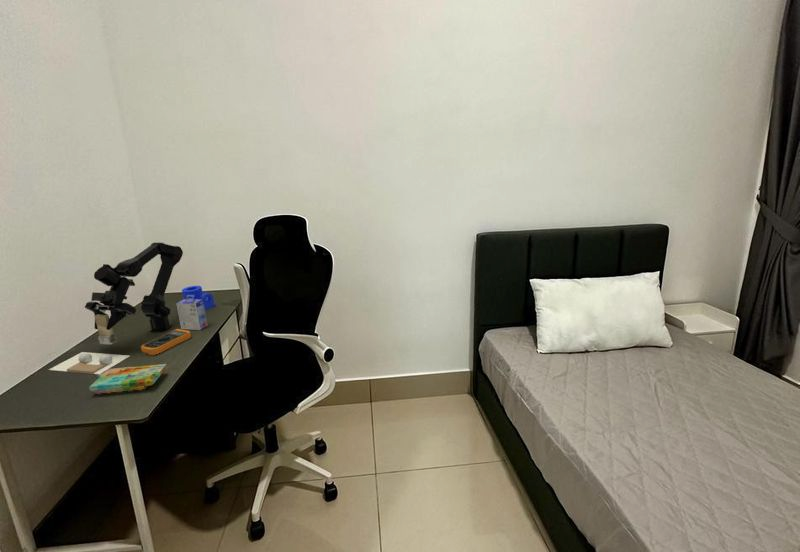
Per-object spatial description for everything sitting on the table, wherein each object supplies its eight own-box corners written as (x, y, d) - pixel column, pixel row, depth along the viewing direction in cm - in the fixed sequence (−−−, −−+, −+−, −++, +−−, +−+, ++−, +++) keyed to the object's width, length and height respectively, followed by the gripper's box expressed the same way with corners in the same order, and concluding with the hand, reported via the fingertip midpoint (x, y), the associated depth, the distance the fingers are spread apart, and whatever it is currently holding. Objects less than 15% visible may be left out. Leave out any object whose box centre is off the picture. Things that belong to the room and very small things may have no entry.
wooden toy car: (107, 340, 179) (99, 313, 176) (117, 340, 178) (110, 314, 175) (99, 344, 176) (92, 317, 173) (110, 344, 175) (102, 317, 172)
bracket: (181, 304, 233) (178, 289, 231) (198, 298, 240) (195, 284, 237) (201, 311, 221) (198, 296, 218) (218, 305, 227) (216, 290, 225)
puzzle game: (106, 367, 161) (166, 361, 162) (110, 379, 162) (168, 373, 164) (87, 384, 150) (151, 378, 151) (91, 397, 151) (155, 391, 152)
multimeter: (139, 354, 181) (137, 346, 180) (178, 335, 196) (176, 327, 195) (154, 357, 177) (152, 349, 176) (193, 338, 192) (191, 330, 191)
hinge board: (82, 354, 183) (79, 344, 181) (130, 358, 177) (128, 347, 176) (49, 372, 170) (45, 361, 168) (100, 376, 164) (96, 365, 163)
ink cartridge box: (208, 325, 204) (202, 294, 199) (201, 330, 198) (194, 298, 194) (188, 324, 206) (182, 293, 201) (180, 329, 201) (173, 298, 196)
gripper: (82, 281, 176) (63, 320, 169) (122, 282, 172) (105, 322, 165) (104, 294, 186) (88, 331, 179) (143, 295, 181) (128, 333, 174)
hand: (101, 329), depth 174 cm, fingers closed on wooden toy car, 5 cm apart
